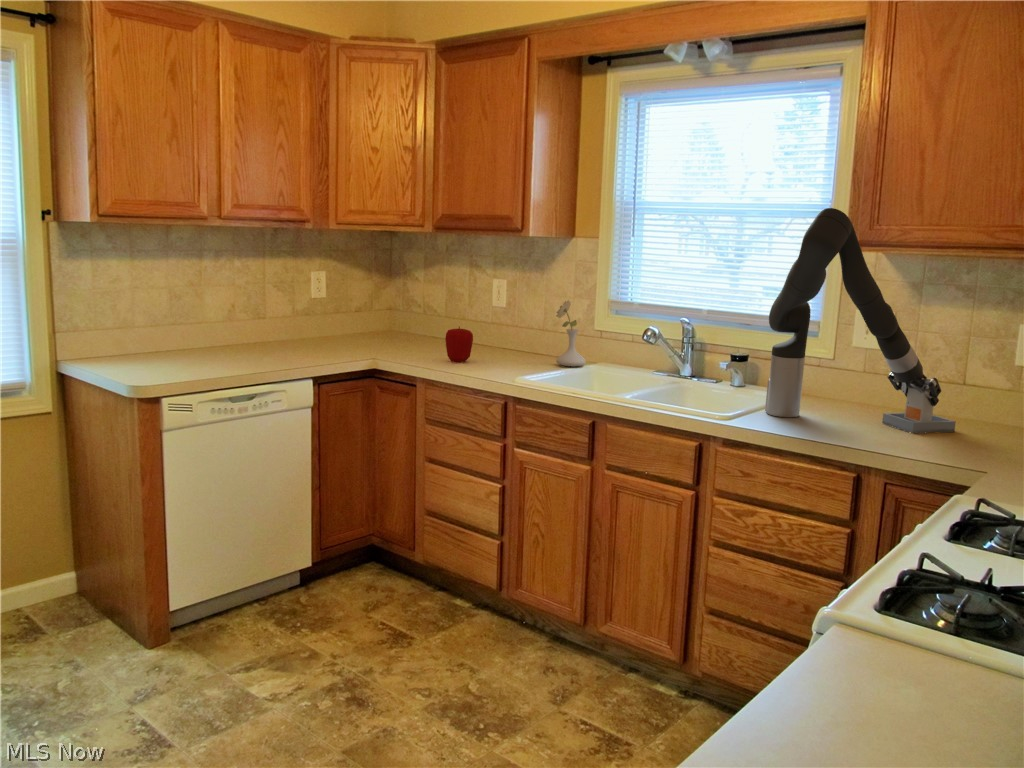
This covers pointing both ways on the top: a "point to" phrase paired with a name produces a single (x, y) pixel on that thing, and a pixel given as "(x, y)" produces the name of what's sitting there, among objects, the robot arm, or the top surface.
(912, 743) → the top surface
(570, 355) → the flower in vase
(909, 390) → the skincare box
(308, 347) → the top surface
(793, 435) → the top surface
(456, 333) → the apple
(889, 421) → the tray
